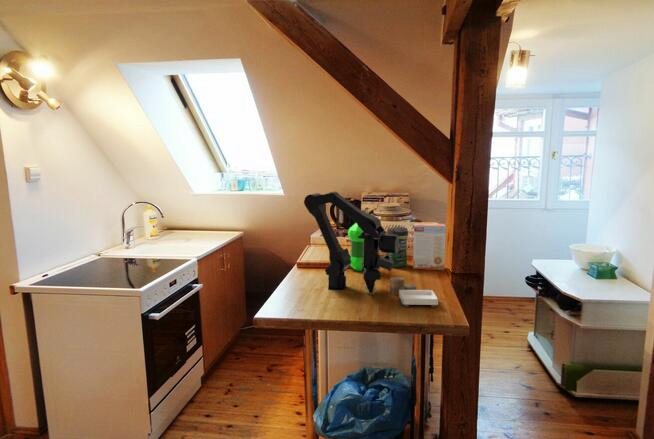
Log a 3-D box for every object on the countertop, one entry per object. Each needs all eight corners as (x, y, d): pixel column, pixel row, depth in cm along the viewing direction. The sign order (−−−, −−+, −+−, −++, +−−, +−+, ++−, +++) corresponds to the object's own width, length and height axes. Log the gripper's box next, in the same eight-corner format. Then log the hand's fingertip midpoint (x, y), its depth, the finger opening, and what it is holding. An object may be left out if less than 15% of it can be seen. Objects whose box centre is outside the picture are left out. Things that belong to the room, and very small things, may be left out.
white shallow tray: (402, 307, 134) (402, 298, 133) (398, 298, 143) (398, 289, 142) (437, 308, 133) (438, 299, 133) (431, 298, 142) (432, 290, 142)
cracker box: (443, 267, 182) (445, 223, 179) (444, 271, 177) (446, 225, 173) (412, 265, 185) (414, 222, 182) (412, 269, 180) (414, 224, 176)
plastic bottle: (348, 265, 186) (348, 213, 182) (370, 266, 185) (371, 213, 181) (347, 271, 176) (347, 217, 172) (370, 272, 175) (371, 217, 171)
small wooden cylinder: (365, 295, 147) (365, 280, 146) (364, 291, 151) (364, 276, 150) (375, 295, 147) (376, 280, 146) (375, 291, 151) (375, 276, 150)
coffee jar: (394, 269, 180) (395, 229, 177) (383, 265, 187) (384, 226, 183) (410, 266, 184) (411, 227, 181) (399, 262, 191) (400, 224, 188)
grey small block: (405, 296, 146) (405, 288, 146) (403, 292, 150) (403, 284, 150) (416, 296, 146) (417, 288, 145) (414, 292, 150) (415, 284, 150)
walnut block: (393, 296, 146) (394, 280, 145) (389, 292, 150) (390, 277, 149) (403, 295, 147) (404, 280, 146) (399, 291, 151) (399, 276, 150)
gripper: (395, 257, 136) (394, 299, 139) (389, 245, 155) (388, 282, 157) (363, 257, 137) (363, 299, 140) (361, 244, 155) (361, 282, 158)
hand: (370, 290), depth 149 cm, fingers closed on small wooden cylinder, 4 cm apart
